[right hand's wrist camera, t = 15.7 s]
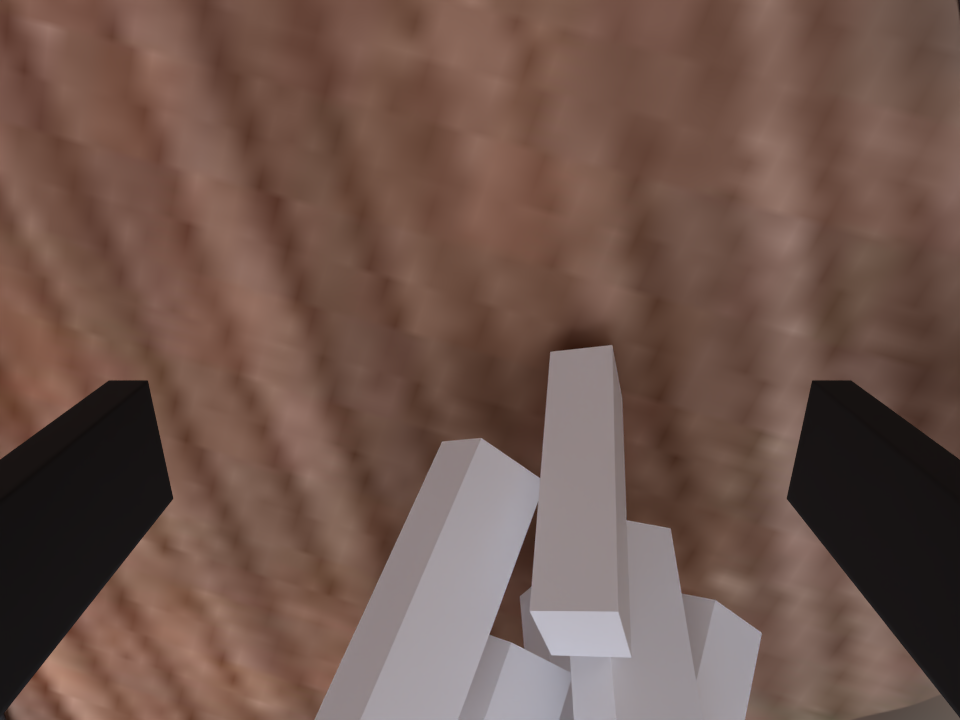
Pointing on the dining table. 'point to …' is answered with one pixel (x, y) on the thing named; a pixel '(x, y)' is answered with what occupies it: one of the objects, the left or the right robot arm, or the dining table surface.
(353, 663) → the pile of blocks
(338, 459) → the dining table surface
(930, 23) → the dining table surface
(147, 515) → the right robot arm
